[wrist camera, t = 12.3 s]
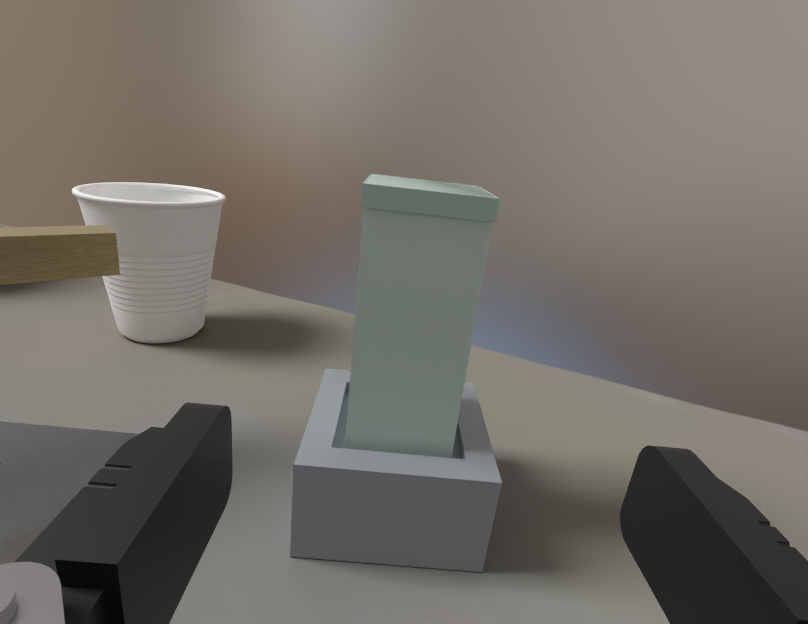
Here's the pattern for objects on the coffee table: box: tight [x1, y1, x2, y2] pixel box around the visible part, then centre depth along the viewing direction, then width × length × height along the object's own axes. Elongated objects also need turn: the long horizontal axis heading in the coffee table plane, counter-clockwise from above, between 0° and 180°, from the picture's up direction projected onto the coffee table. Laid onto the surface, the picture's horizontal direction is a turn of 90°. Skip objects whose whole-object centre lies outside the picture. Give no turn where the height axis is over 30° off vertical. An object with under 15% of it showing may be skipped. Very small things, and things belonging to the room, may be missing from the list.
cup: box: [72, 182, 226, 343], centre depth 36 cm, size 10×10×11 cm
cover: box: [345, 174, 500, 458], centre depth 20 cm, size 5×5×11 cm
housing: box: [290, 368, 502, 572], centre depth 23 cm, size 8×8×5 cm
